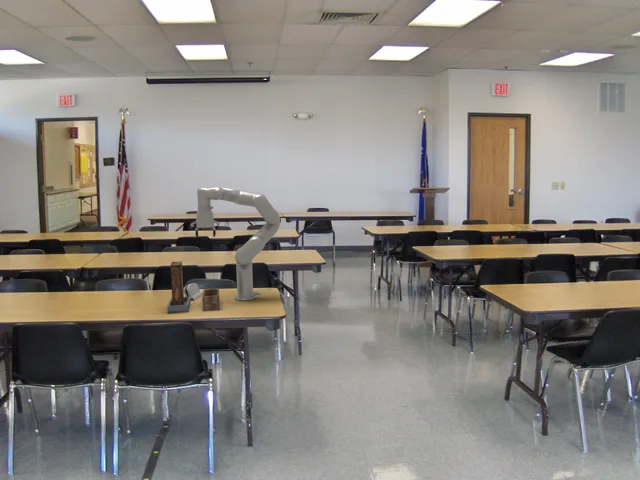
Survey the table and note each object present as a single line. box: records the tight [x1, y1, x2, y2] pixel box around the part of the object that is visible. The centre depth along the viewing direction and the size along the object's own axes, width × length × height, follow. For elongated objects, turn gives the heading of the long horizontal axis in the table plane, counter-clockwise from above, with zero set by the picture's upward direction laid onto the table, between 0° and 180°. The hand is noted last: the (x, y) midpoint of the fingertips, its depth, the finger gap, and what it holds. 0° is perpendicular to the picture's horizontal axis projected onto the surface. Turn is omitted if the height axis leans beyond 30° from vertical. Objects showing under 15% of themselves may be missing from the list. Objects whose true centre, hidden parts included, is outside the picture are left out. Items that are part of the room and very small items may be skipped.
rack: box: [201, 288, 221, 312], centre depth 315 cm, size 9×21×8 cm, turn 10°
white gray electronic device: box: [183, 282, 203, 302], centre depth 339 cm, size 17×5×10 cm, turn 172°
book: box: [170, 260, 185, 306], centre depth 310 cm, size 16×6×25 cm, turn 12°
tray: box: [166, 296, 191, 314], centre depth 312 cm, size 11×22×4 cm, turn 10°
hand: (205, 237), depth 327 cm, fingers open, 9 cm apart
